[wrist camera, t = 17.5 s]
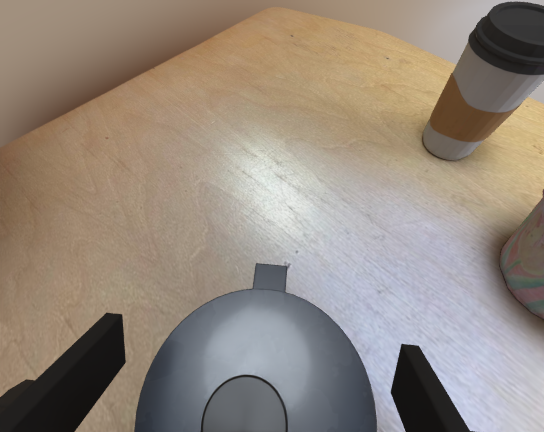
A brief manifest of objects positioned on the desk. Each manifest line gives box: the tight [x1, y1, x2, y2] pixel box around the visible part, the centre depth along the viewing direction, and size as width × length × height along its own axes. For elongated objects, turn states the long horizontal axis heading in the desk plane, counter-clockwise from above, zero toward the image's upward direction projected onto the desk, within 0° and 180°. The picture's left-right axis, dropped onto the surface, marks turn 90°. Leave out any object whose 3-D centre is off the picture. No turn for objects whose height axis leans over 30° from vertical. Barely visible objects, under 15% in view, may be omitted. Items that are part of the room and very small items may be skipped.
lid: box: [134, 289, 377, 432], centre depth 14 cm, size 14×14×10 cm
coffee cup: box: [423, 2, 544, 160], centre depth 32 cm, size 8×8×15 cm
